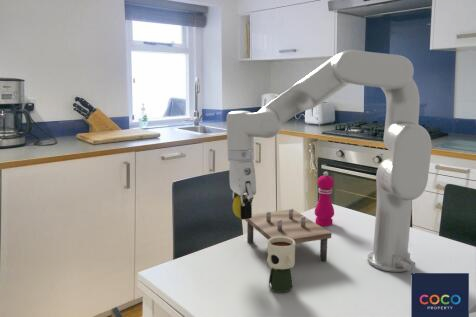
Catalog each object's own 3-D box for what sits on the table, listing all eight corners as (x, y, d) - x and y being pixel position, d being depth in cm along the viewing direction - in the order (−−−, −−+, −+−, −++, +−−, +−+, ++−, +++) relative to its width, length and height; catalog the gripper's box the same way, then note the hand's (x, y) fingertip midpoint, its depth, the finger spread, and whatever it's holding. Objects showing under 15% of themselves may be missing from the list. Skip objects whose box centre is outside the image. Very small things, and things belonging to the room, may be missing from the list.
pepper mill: (319, 218, 164) (321, 168, 160) (337, 223, 159) (339, 171, 155) (310, 224, 158) (312, 171, 154) (328, 228, 154) (330, 174, 150)
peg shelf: (330, 261, 127) (331, 223, 124) (275, 271, 120) (276, 231, 118) (292, 233, 148) (293, 200, 146) (244, 240, 142) (244, 206, 140)
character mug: (258, 281, 114) (259, 236, 112) (281, 276, 117) (282, 232, 115) (279, 301, 105) (280, 251, 102) (303, 294, 108) (305, 246, 105)
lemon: (242, 215, 128) (241, 189, 127) (255, 219, 124) (255, 193, 123) (229, 220, 124) (228, 193, 123) (242, 224, 121) (241, 197, 119)
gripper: (265, 158, 114) (266, 222, 117) (242, 148, 130) (243, 205, 133) (239, 161, 111) (240, 226, 115) (218, 151, 127) (220, 208, 131)
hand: (242, 214), depth 124 cm, fingers closed on lemon, 5 cm apart
